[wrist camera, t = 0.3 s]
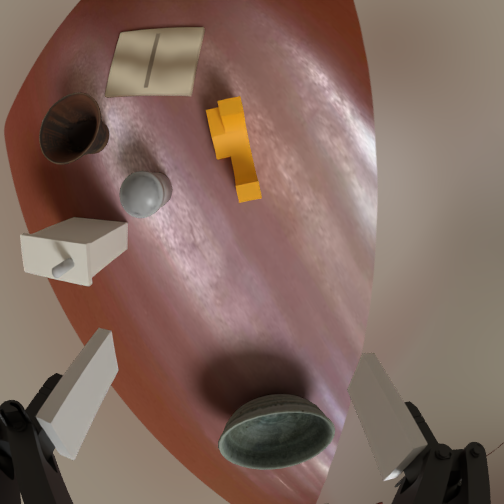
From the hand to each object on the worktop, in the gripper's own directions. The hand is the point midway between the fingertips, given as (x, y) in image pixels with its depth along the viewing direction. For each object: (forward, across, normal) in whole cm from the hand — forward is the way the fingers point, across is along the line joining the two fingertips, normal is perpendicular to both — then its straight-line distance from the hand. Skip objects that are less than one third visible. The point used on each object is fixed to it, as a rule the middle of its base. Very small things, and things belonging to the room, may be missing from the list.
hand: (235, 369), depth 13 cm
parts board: (+27, -15, +24) cm, 39 cm away
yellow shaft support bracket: (+27, -2, +11) cm, 30 cm away
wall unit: (+27, -22, -1) cm, 35 cm away
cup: (+27, -22, +14) cm, 37 cm away
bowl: (+27, +10, -34) cm, 45 cm away
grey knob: (+27, -13, +6) cm, 30 cm away
